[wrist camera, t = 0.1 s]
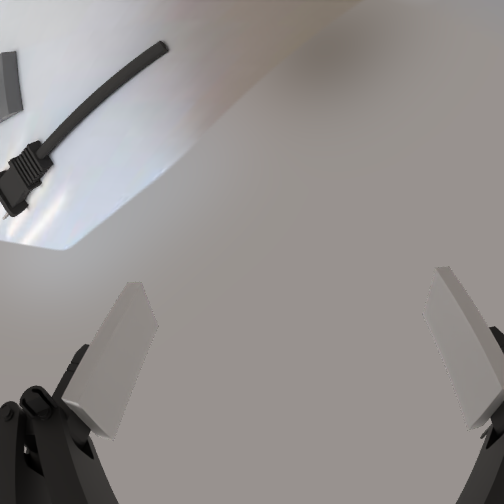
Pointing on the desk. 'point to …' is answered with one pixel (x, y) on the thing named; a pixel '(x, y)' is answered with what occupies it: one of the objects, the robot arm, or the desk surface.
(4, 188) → the electrical plug
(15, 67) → the pdu
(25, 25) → the desk surface
